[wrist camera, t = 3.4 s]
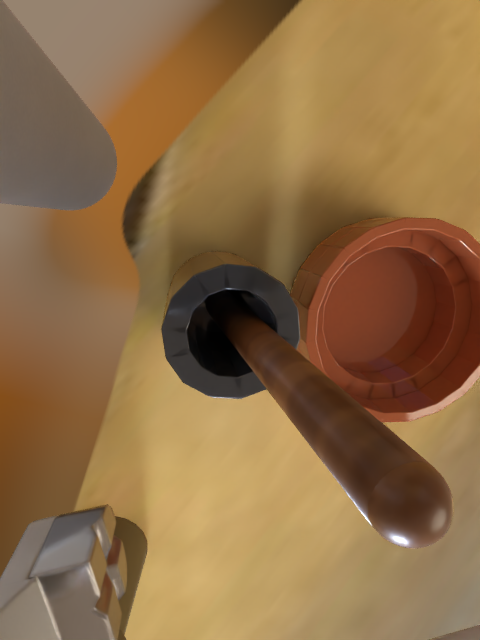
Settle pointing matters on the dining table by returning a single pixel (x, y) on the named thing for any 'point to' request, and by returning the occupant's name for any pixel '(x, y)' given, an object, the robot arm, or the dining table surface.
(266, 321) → the utensil pot
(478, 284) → the bowl
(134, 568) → the pepper mill
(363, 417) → the stirring stick
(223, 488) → the dining table surface
